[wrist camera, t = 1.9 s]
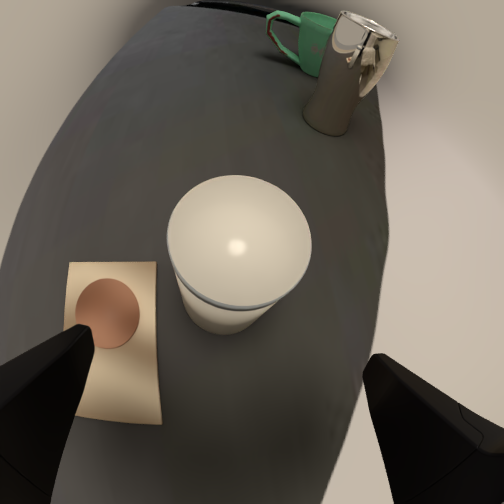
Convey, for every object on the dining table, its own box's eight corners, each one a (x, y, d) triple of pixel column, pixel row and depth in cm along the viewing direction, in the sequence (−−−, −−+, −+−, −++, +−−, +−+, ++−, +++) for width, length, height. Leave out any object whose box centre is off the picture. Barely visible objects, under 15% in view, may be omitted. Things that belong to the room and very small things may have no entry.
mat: (162, 423, 16) (161, 425, 15) (70, 413, 14) (65, 414, 13) (157, 264, 20) (155, 260, 19) (72, 264, 19) (68, 260, 18)
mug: (337, 68, 40) (356, 26, 31) (345, 93, 36) (369, 44, 27) (259, 47, 38) (270, 1, 29) (253, 68, 34) (267, 12, 25)
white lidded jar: (267, 333, 20) (323, 301, 11) (183, 336, 18) (164, 308, 9) (259, 256, 22) (299, 177, 13) (181, 257, 21) (171, 174, 12)
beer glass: (356, 142, 30) (413, 49, 17) (306, 135, 29) (355, 24, 16) (339, 109, 33) (382, 24, 20) (293, 100, 32) (329, 4, 18)
